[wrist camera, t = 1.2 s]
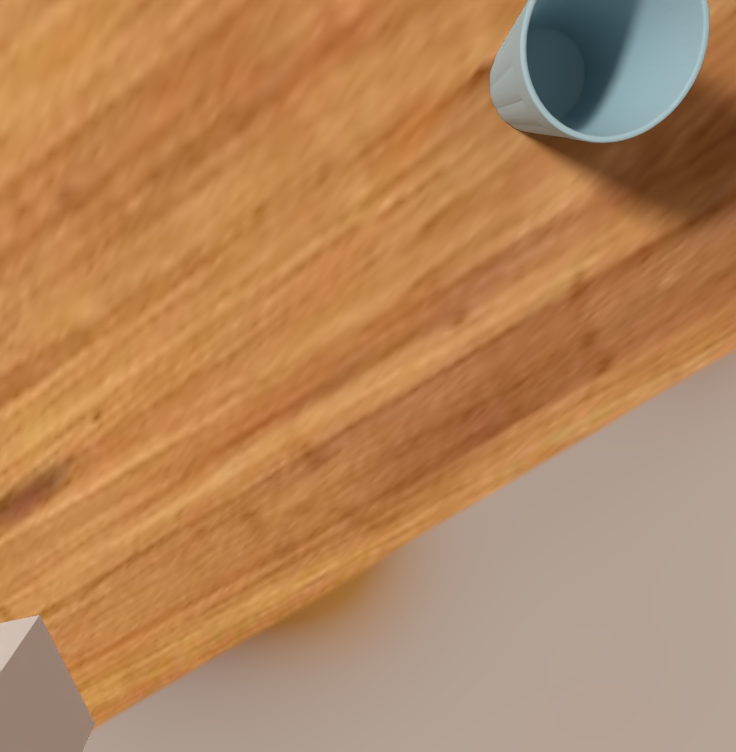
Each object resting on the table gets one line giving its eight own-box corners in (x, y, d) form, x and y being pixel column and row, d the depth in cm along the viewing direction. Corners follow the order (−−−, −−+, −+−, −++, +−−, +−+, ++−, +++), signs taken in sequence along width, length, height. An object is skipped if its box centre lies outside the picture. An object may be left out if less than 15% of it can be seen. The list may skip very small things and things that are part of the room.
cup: (622, 115, 34) (732, 90, 25) (500, 176, 35) (558, 174, 25) (579, -22, 32) (681, -111, 22) (450, 46, 33) (493, -11, 23)
